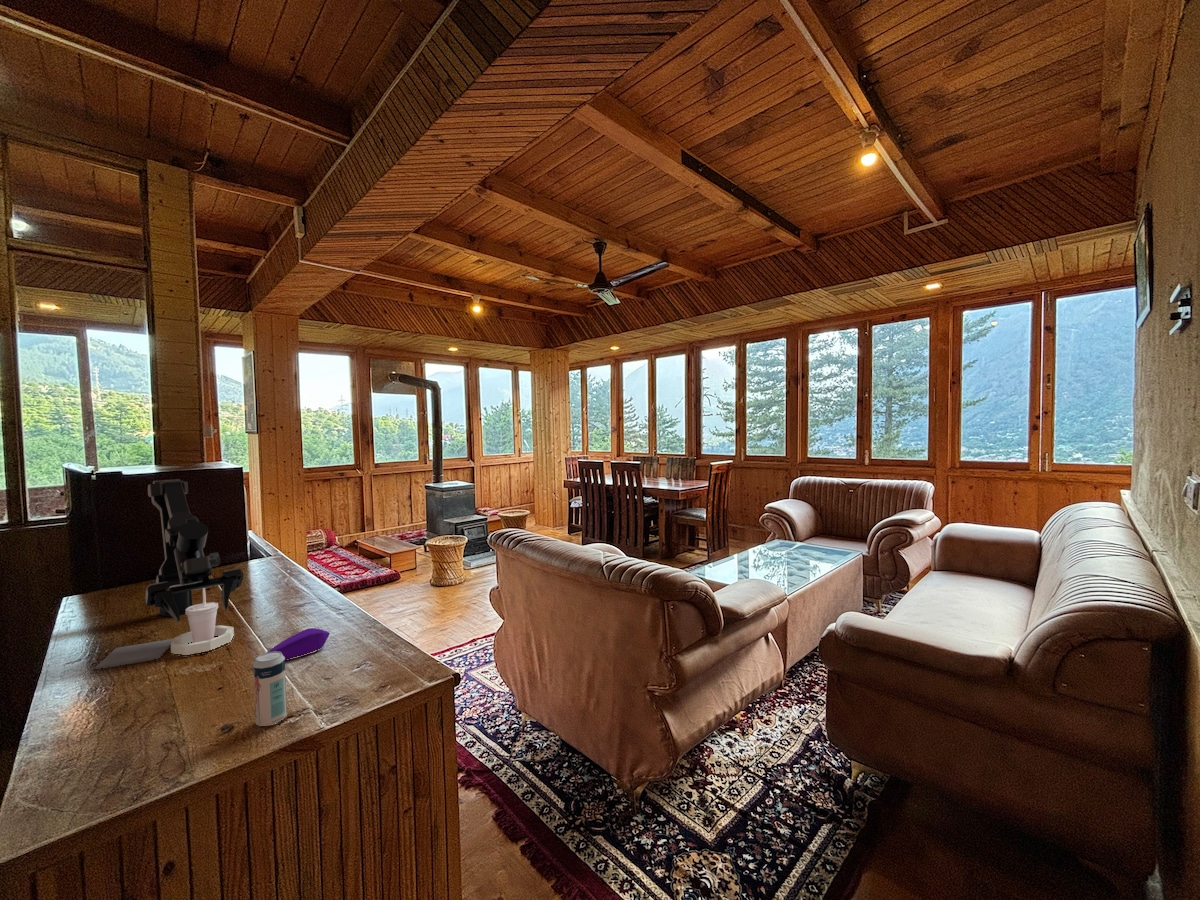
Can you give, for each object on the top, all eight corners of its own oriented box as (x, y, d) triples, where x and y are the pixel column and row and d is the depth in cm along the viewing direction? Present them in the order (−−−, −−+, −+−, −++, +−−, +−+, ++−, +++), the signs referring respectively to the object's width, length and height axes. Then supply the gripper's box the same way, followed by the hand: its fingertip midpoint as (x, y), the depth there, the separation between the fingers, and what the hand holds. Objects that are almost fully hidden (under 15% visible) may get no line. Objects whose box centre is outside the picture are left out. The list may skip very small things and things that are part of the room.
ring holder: (211, 633, 129) (210, 623, 129) (243, 638, 125) (243, 628, 125) (161, 652, 118) (160, 642, 118) (195, 658, 114) (195, 647, 114)
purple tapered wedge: (253, 648, 111) (324, 621, 122) (256, 668, 112) (327, 639, 123) (259, 654, 108) (332, 626, 119) (263, 675, 108) (335, 645, 120)
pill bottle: (265, 714, 91) (262, 650, 91) (292, 712, 92) (290, 649, 91) (249, 730, 87) (246, 663, 86) (278, 728, 87) (275, 661, 86)
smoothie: (225, 642, 123) (223, 586, 122) (195, 652, 117) (193, 594, 117) (211, 637, 126) (208, 583, 125) (181, 648, 120) (178, 591, 119)
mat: (116, 650, 119) (116, 647, 119) (174, 640, 124) (174, 638, 124) (95, 669, 109) (95, 667, 109) (159, 658, 114) (159, 656, 114)
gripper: (144, 551, 116) (154, 608, 110) (239, 537, 131) (254, 587, 124) (141, 578, 122) (151, 633, 115) (233, 562, 136) (246, 610, 129)
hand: (203, 614), depth 121 cm, fingers open, 9 cm apart
